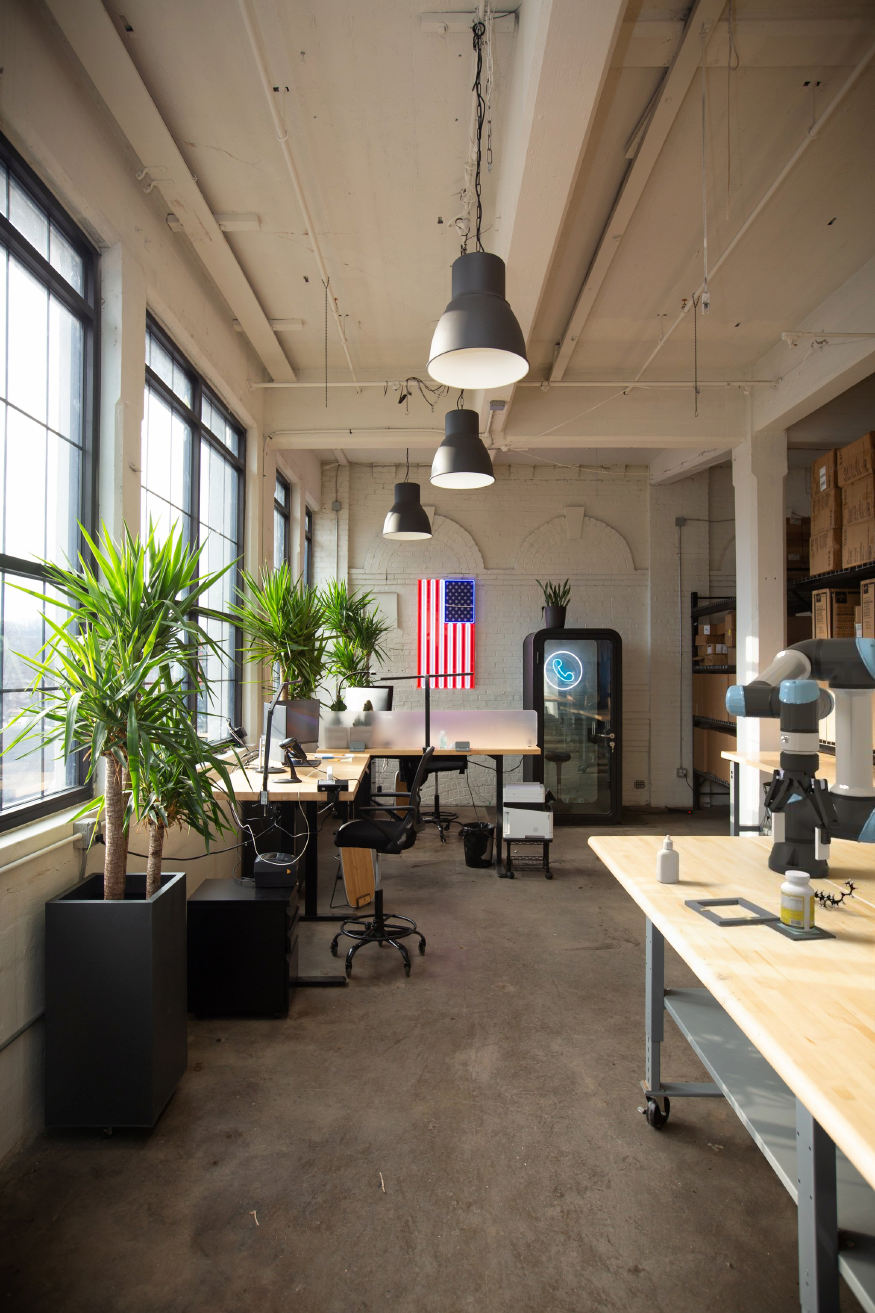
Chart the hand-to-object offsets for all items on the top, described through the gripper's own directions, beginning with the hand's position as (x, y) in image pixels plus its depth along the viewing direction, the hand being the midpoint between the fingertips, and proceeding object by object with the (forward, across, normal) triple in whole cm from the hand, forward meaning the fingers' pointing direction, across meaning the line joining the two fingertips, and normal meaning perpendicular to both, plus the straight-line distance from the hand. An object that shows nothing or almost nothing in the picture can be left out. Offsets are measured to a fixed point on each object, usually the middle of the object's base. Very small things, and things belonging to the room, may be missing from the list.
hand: (799, 850), depth 152 cm
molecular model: (+18, -12, +16) cm, 27 cm away
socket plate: (+17, -11, -9) cm, 22 cm away
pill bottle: (+17, 0, -1) cm, 17 cm away
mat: (+17, +1, -1) cm, 17 cm away
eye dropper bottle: (+18, -36, -11) cm, 41 cm away
